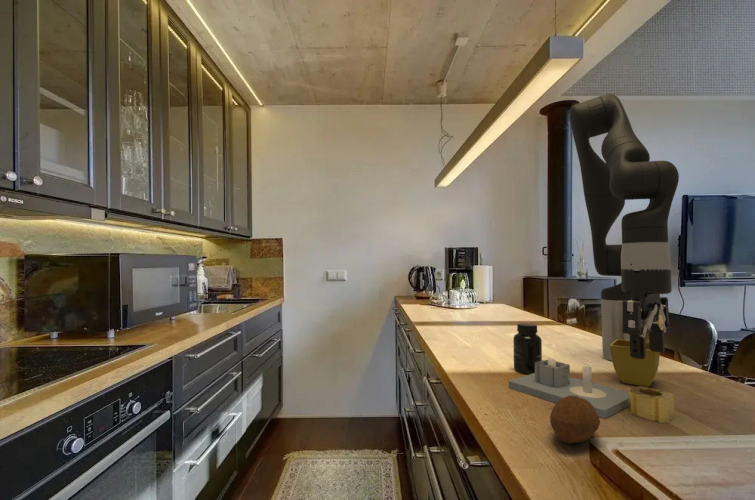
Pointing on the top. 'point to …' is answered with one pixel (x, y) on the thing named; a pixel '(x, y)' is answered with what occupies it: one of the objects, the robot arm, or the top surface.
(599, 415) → the pegboard
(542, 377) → the steel gear
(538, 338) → the supplement bottle
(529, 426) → the top surface
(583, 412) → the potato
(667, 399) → the brass gear
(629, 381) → the flower pot
